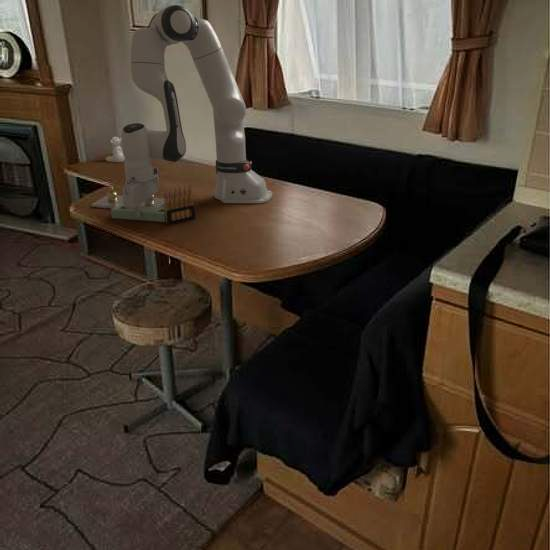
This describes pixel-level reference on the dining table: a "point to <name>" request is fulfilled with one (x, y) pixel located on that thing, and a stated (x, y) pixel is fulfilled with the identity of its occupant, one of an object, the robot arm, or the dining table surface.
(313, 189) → the dining table surface
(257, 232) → the dining table surface
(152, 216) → the board
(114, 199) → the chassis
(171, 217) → the ammunition clip
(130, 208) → the robot arm
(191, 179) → the dining table surface
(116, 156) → the sitting furry creature
